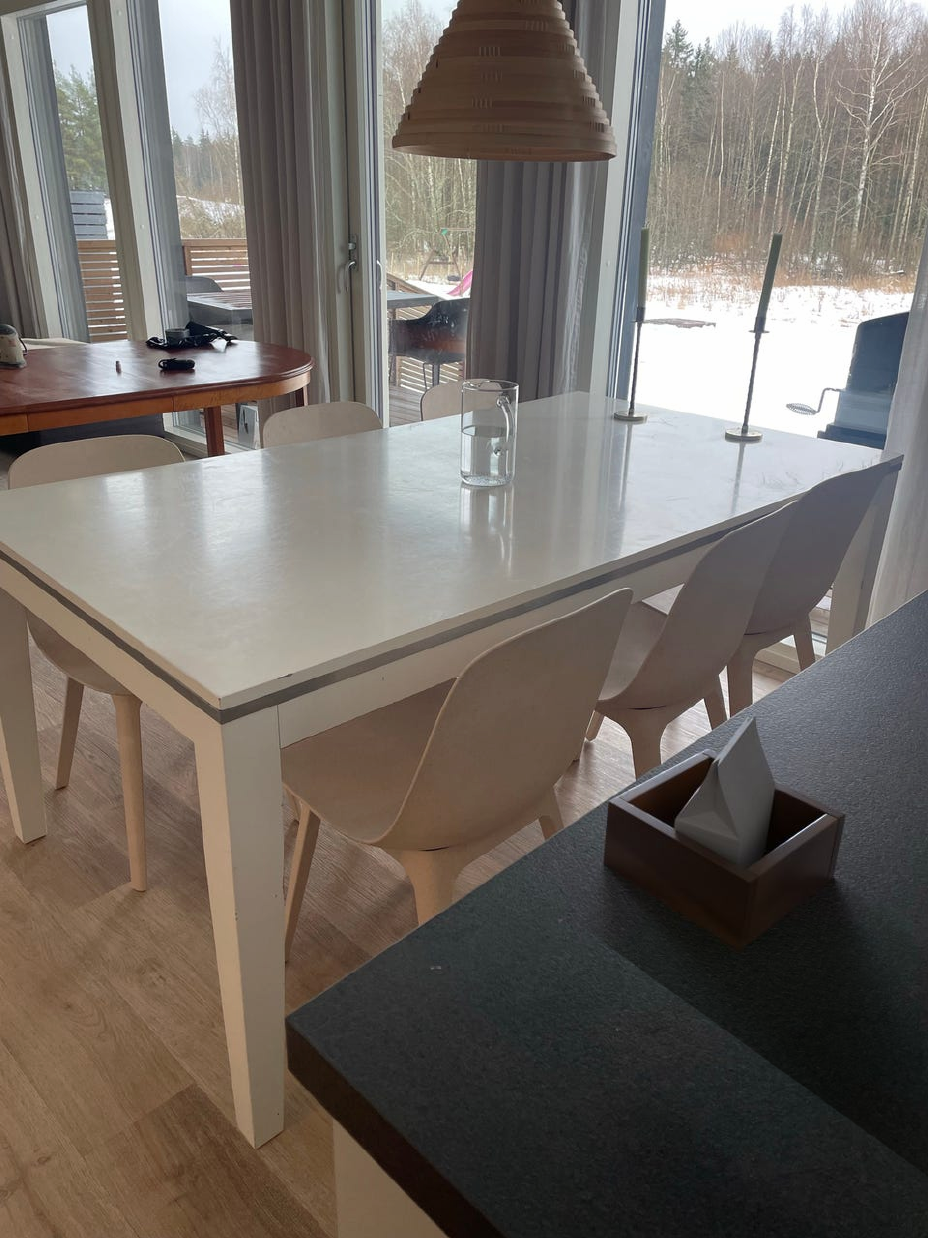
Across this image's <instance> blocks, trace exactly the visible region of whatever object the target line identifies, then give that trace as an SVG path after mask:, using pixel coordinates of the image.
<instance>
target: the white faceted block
mask: <svg viewBox="0 0 928 1238" xmlns="http://www.w3.org/2000/svg"><path fill="white" fill-rule="evenodd" d="M757 727H758V726H757V719H756V716H753V717H752V718H750V715H748V716H746V717H745V719H744V721H743V722H742V723H741V725H740V726H739V727H738V729H737V730H736V731H735V733H734V734H733V735H732V737H730V739H729V741H727V743H726V744H725V746H724V747H723V748H722V750H721V751H720V753H718V754H719V755H718V756H717V758H716V759H715V760H714V762H713V763H712V764H711V766H710V769H709V772H708V774H707V776H706V778H705V780H704V781H703V783H702V785H701V786H700V787H699V789H698V790H697V791H696V792H695V794H694V795H693V796H692V798H691V799H690V800H689V802H688V803H687V804H686V806H685V807H684V808H683V810H682V811H681V812H680V814H679V815H678V816H677V818H676V819H675V825H674V829H675V830H677V831H679V832H681V833H682V834H684V835H686V836H688V837H689V838H691V839H693V840H695V841H696V842H698V843H700V844H702V845H704V846H705V847H707V848H709V849H711V850H712V851H714V852H716V853H718V854H719V855H721V856H723V857H725V858H726V859H728V860H730V861H732V862H734V863H735V864H737V865H739V866H741V867H742V868H744V869H747V868H748V867H750V866H751V865H753V864H754V863H756V862H757V861H758V860H760V859H761V858H763V857H764V855H765V853H766V850H765V848H766V841H767V835H768V829H769V823H770V816H771V810H772V804H773V797H774V791H775V785H776V784H775V782H774V780H775V779H774V776H773V773H772V771H771V767H770V765H769V762H768V760H767V757H766V754H765V751H764V749H763V746H762V743H761V739H760V735H759V732H758V728H757Z"/></svg>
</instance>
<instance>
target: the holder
mask: <svg viewBox="0 0 928 1238" xmlns="http://www.w3.org/2000/svg"><path fill="white" fill-rule="evenodd" d="M719 754H720V753H718V752H715V751H714V750H712V749H710V748H706V749H705V750H702V751H701V752H699V753H696V754H695V755H693V756H691V757H689V758H687V759H685V760H683V761H682V762H680V763H678V764H675V765H674V766H672V767H670V768H668V769H667V770H665V771H663V772H661V773H659V774H656V775H655V776H653V777H652V778H650V779H648V780H646V781H644V782H642V783H640V784H639V785H636V786H635V787H633V788H631V789H629V790H627V791H625V792H623V793H622V794H620V795H618V796H615V797H614V798H612V799H610V800H608V802H607V812H606V813H607V816H606V825H605V827H606V828H605V838H604V852H603V865H604V866H606V867H608V868H610V869H611V870H612V871H614V872H615V873H617V874H619V876H621V877H624V878H625V879H626V880H628V881H630V882H631V883H633V884H634V885H636V886H637V887H638V888H641V889H642V890H644V891H645V892H647V893H648V894H650V895H651V896H653V897H654V898H656V899H658V900H659V901H661V902H662V903H664V904H665V905H667V906H668V907H670V908H672V909H673V910H674V911H676V912H678V913H679V914H681V915H682V916H684V917H685V918H687V919H688V920H690V921H692V922H694V923H695V924H696V925H698V926H700V927H702V928H703V929H704V930H706V931H707V932H709V933H711V934H712V935H714V936H715V937H717V938H719V939H720V940H722V941H723V942H724V943H726V944H728V945H729V946H731V947H732V948H734V949H736V950H738V951H741V950H742V949H744V948H745V947H746V946H748V944H750V943H751V942H752V941H755V939H756V938H758V937H759V936H760V935H761V934H763V933H764V932H766V931H767V930H768V929H769V928H770V927H772V926H773V925H774V924H775V923H777V922H778V921H780V920H781V919H782V918H783V917H785V916H786V915H787V914H789V913H790V912H792V911H793V910H794V909H795V908H796V907H798V906H799V905H800V904H802V903H803V902H804V901H806V899H808V898H809V897H810V896H812V895H813V894H815V893H816V892H817V891H818V890H820V889H821V888H822V887H823V886H825V885H826V884H827V883H829V882H830V881H831V880H833V879H834V876H835V872H836V867H837V862H838V856H839V852H840V851H839V850H840V846H841V843H842V842H841V841H842V837H843V831H844V825H845V820H846V813H844V812H842V811H840V810H838V809H835V808H834V807H832V806H830V805H827V804H825V803H823V802H821V801H819V800H816V799H815V798H812V797H810V796H808V795H806V794H804V793H802V792H800V791H798V790H795V789H793V788H791V787H789V786H788V785H785V784H783V783H781V782H780V781H777V780H775V779H774V782H775V784H776V785H775V791H774V797H773V804H772V810H771V816H770V823H769V829H768V835H767V841H766V848H765V851H767V852H769V853H767V854H766V855H763V856H762V858H761V859H760V860H758V861H757V862H756V863H754V864H753V865H751V866H750V867H748V868H747V869H744V868H742V867H741V866H739V865H737V864H735V863H734V862H732V861H730V860H728V859H726V858H725V857H723V856H721V855H719V854H718V853H716V852H714V851H712V850H711V849H709V848H707V847H705V846H704V845H702V844H700V843H698V842H696V841H695V840H693V839H691V838H689V837H688V836H686V835H684V834H682V833H681V832H679V831H677V830H675V829H674V825H675V819H676V818H677V816H678V815H679V814H680V812H681V811H682V810H683V808H684V807H685V806H686V804H687V803H688V802H689V800H690V799H691V798H692V796H693V795H694V794H695V792H696V791H697V790H698V789H699V787H700V786H701V785H702V783H703V781H704V780H705V778H706V776H707V774H708V772H709V769H710V766H711V764H712V763H713V762H714V760H715V759H716V758H717V756H718V755H719Z"/></svg>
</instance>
